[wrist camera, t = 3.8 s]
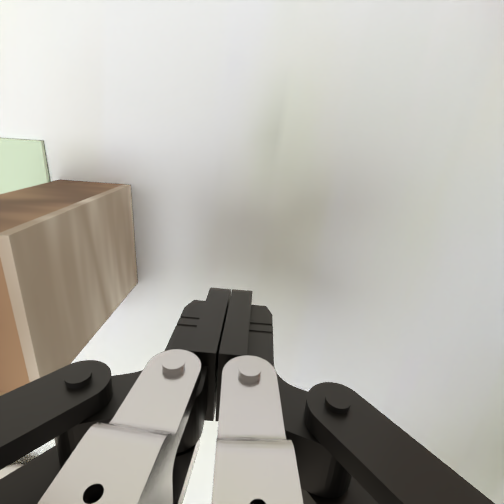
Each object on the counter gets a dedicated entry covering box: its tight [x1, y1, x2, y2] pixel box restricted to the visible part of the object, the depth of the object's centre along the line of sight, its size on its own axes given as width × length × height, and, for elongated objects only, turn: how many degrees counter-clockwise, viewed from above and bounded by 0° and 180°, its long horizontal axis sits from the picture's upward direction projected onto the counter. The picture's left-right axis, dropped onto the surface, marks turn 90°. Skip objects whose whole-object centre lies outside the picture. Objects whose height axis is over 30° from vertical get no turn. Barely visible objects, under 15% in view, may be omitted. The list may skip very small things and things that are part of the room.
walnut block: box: [0, 180, 138, 393], centre depth 15 cm, size 4×6×9 cm, turn 176°
